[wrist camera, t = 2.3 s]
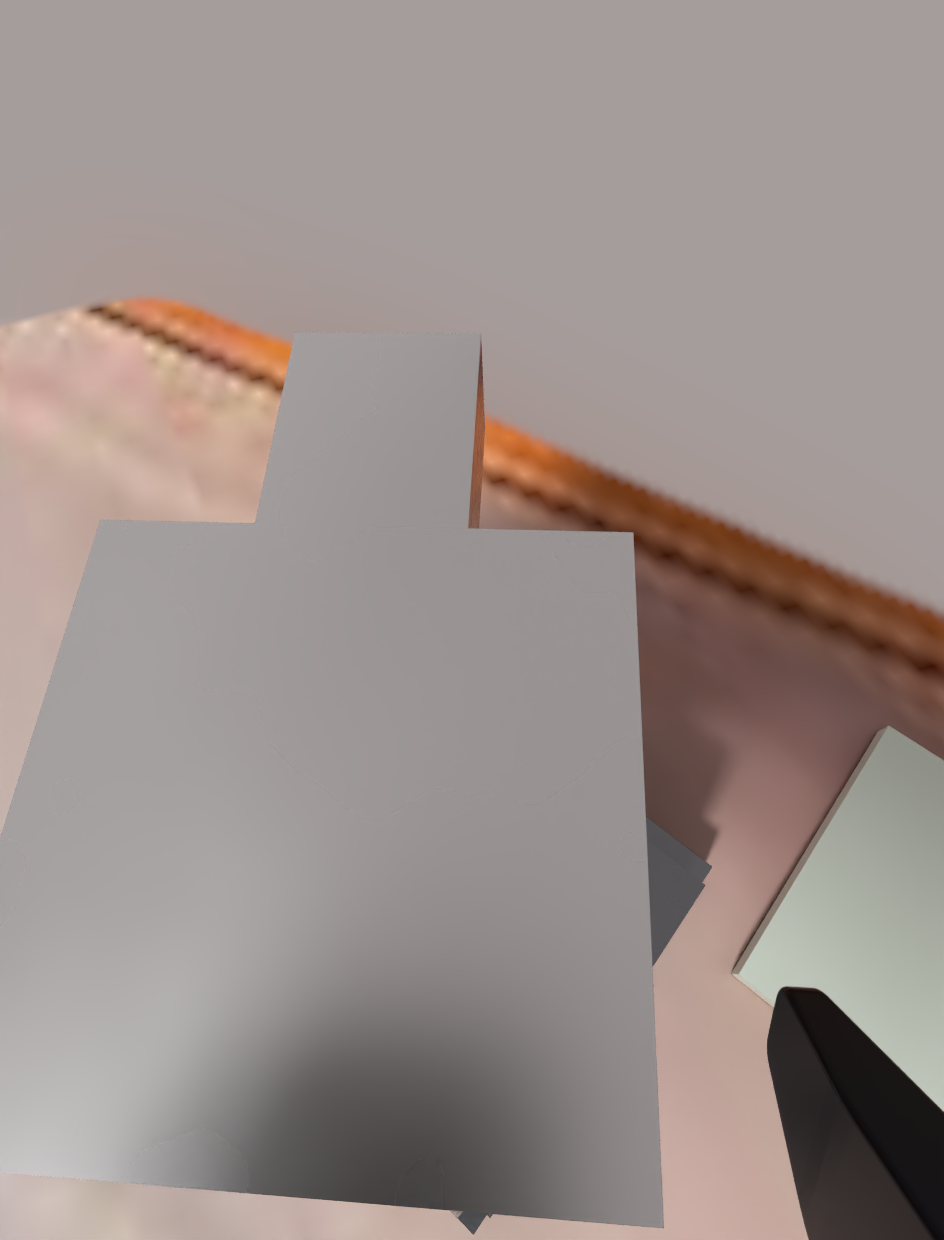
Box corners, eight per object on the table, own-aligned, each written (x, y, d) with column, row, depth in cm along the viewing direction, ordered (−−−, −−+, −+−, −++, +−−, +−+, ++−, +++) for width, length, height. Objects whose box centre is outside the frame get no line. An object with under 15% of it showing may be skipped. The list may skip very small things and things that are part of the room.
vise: (475, 1217, 15) (458, 1369, 10) (195, 927, 18) (59, 919, 12) (701, 870, 18) (787, 838, 12) (429, 662, 21) (401, 560, 15)
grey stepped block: (558, 1037, 14) (662, 1228, 4) (298, 1019, 14) (-102, 1162, 5) (560, 669, 17) (624, 334, 7) (346, 662, 17) (159, 331, 8)
